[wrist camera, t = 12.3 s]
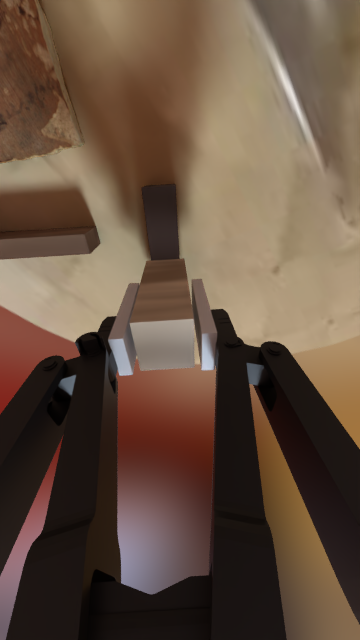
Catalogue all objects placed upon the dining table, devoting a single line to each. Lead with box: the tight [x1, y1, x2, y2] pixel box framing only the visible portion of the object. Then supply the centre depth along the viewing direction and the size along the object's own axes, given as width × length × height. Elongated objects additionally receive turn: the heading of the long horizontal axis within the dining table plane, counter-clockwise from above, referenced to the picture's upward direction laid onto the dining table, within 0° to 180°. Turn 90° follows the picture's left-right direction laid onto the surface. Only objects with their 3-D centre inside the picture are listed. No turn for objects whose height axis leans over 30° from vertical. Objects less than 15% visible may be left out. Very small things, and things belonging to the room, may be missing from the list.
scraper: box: [130, 184, 195, 371], centre depth 16 cm, size 14×3×12 cm, turn 3°
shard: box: [0, 0, 84, 163], centre depth 13 cm, size 11×8×2 cm
